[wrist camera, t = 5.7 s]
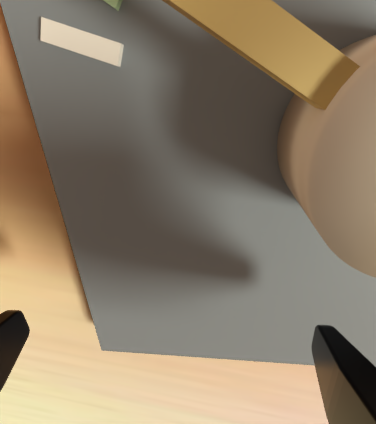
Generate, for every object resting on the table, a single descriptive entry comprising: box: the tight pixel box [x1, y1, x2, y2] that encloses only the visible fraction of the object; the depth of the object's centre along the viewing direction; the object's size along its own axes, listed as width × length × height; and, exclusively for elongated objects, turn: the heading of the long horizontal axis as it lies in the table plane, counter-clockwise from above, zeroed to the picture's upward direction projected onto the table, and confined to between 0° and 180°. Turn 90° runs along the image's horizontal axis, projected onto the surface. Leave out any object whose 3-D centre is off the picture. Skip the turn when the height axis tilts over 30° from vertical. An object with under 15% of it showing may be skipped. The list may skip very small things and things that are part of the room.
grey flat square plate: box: [0, 0, 376, 367], centre depth 7 cm, size 18×18×1 cm
